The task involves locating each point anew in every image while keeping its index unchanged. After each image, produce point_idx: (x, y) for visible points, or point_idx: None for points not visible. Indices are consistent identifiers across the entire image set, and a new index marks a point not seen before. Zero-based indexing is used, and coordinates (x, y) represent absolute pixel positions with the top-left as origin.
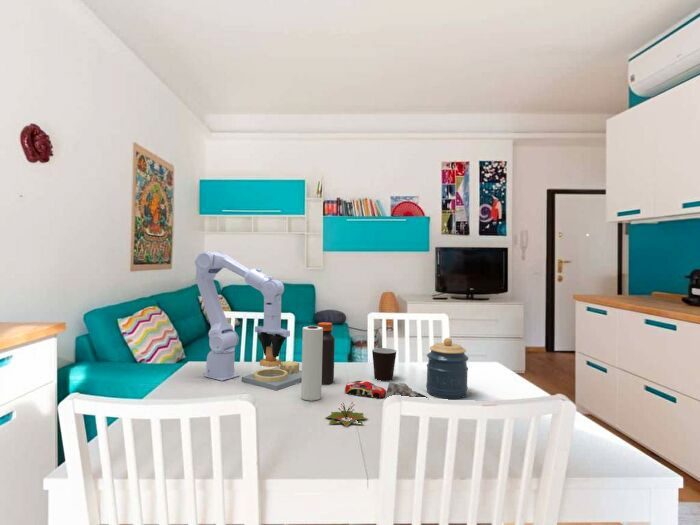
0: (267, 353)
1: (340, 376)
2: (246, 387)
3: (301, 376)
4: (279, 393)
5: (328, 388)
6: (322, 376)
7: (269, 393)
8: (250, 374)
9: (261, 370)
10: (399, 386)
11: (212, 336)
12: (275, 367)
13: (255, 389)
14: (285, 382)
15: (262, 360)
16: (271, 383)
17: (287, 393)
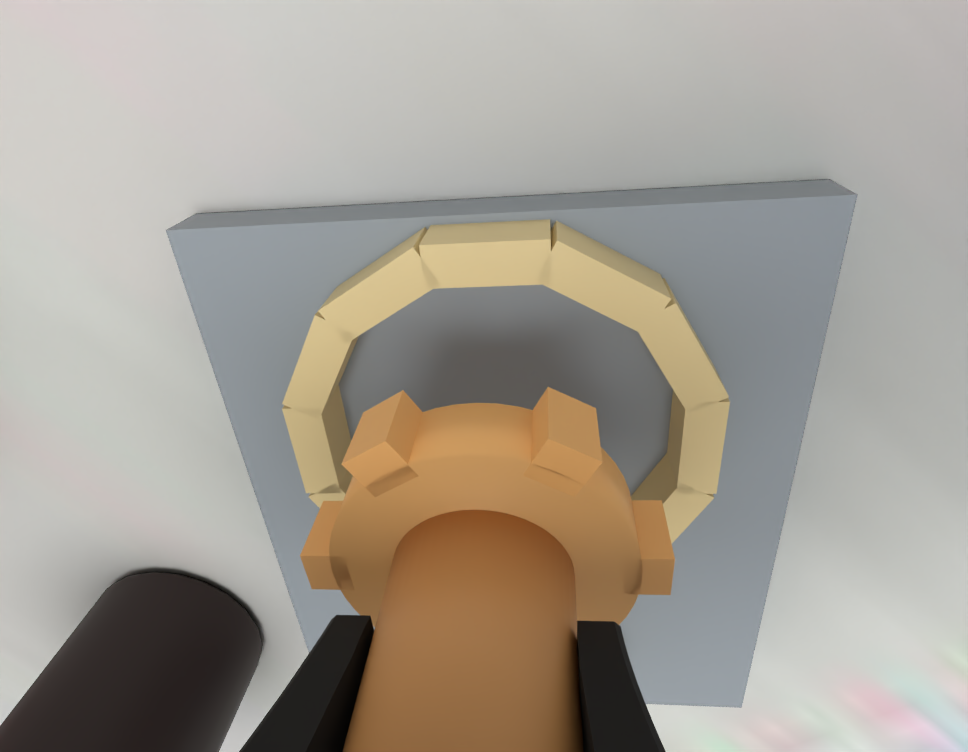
0: (454, 637)
1: (236, 747)
2: (562, 31)
3: (310, 594)
4: (82, 163)
5: (13, 538)
6: (76, 635)
7: (142, 75)
8: (819, 354)
9: (691, 458)
10: None
11: None
12: (748, 665)
13: (397, 61)
14: (224, 383)
15: (572, 492)
16: (289, 257)
17: (40, 224)
